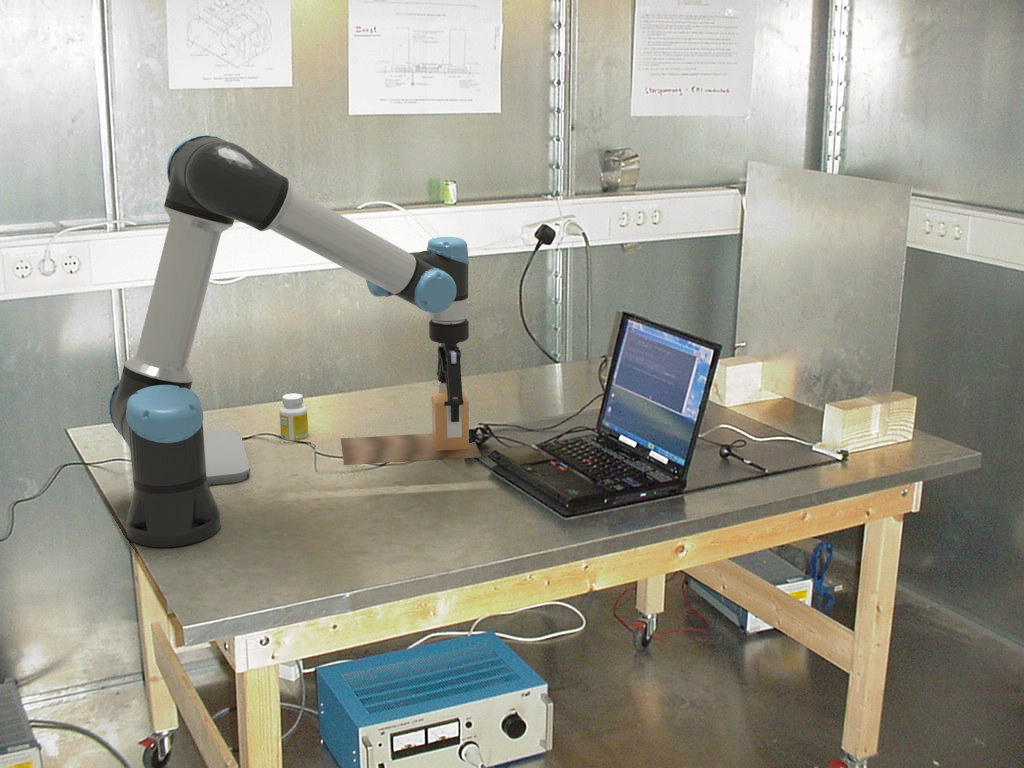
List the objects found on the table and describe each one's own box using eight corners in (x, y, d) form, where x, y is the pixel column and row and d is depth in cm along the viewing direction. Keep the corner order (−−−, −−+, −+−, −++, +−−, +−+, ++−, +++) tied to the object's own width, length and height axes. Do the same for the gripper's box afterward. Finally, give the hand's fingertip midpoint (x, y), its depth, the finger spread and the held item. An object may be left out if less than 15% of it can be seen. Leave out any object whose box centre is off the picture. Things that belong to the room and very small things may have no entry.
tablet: (239, 438, 250) (238, 427, 249) (252, 483, 226) (251, 472, 225) (156, 446, 245) (155, 435, 244) (160, 493, 221) (159, 481, 221)
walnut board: (344, 472, 230) (343, 464, 230) (341, 445, 245) (340, 438, 244) (481, 464, 235) (481, 457, 234) (470, 438, 249) (470, 431, 248)
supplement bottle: (311, 438, 248) (309, 392, 245) (304, 448, 243) (302, 400, 240) (285, 437, 249) (283, 391, 246) (277, 447, 244) (275, 399, 241)
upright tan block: (435, 450, 237) (435, 403, 235) (432, 439, 243) (431, 393, 241) (468, 449, 238) (468, 401, 236) (464, 438, 245) (464, 391, 242)
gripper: (477, 335, 223) (478, 445, 229) (459, 303, 246) (460, 404, 252) (436, 336, 221) (438, 447, 227) (422, 305, 245) (424, 406, 251)
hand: (450, 425), depth 240 cm, fingers open, 13 cm apart
